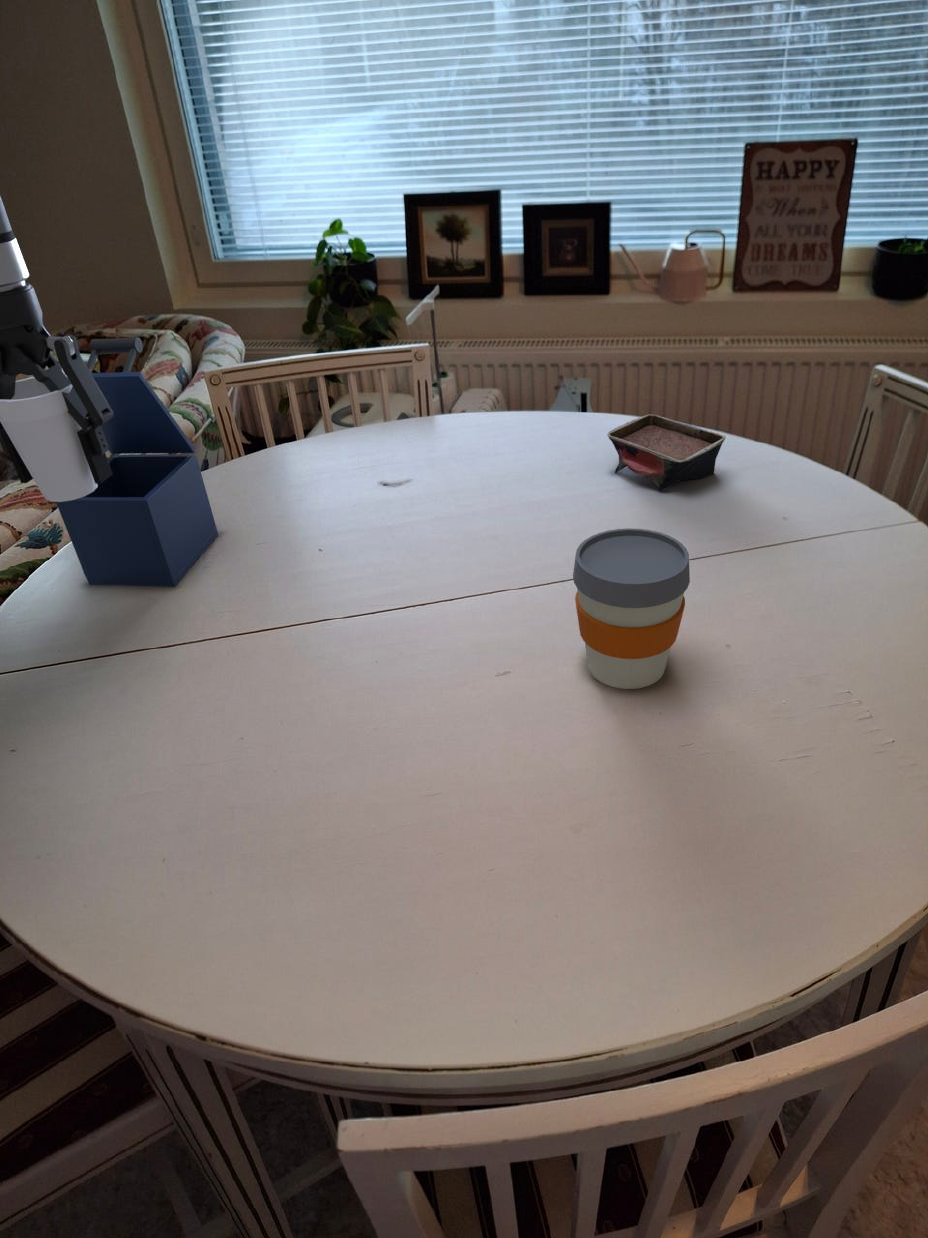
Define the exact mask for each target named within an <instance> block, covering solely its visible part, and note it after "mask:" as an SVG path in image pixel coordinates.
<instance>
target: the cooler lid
mask: <svg viewBox="0 0 928 1238" xmlns="http://www.w3.org/2000/svg"><path fill="white" fill-rule="evenodd" d="M89 348H90V355H89V357H88V360H87V362H86V366H87V368H88V369H89V371H90V373H91V375H92V376H93V378H94V380H95V382H96V383H97V385H98V387H99V389H100V390H101V392H102V394H103V396H104V397H105V399H106V401H107V403H108V404H109V406H110V408H111V409H112V411H113V414H114V416H113V417H112V418H111V419H109V420H108V421H106V422H105V423H104V424H102V430H103V433H104V436H105V439H106V442H107V444H108V452H109V453H110V454H111V455H140V454H196V451H197V449H196V447H195V446H194V445H193V443H192V442H191V440H190V439H189V438H188V436H187V434H186V433H185V432H184V430H183V429H182V428H181V426H180V425H179V424H178V422H177V421H176V419H175V418H174V417H173V415H172V414H171V412H170V411H169V410H168V408H167V407H166V406H165V404H164V403H163V401H162V400H161V398H160V397H159V396H158V394H157V393H156V391H155V390H154V389H153V387H152V386H151V385H150V383H149V382H148V380H147V379H146V378H145V376H144V375H143V373H142V372H141V371H132V368H133V365H134V363H135V360H136V357H137V354H140V353H142V352H143V349H144V345H143V341H142V339H141V338H140V337H123V338H119V337H117V338H95V339H91V340H90V341H89ZM110 354H111V355H112V354H113V355H114V354H128V356H127V359H126V361H125V363H124V366H123V370H122V371H121V372H93V370H94V367H95V364H96V362H97V359H98V357H99V355H110ZM64 374H65V373H64ZM65 375H66V374H65Z"/></svg>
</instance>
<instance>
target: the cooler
mask: <svg viewBox="0 0 928 1238" xmlns="http://www.w3.org/2000/svg"><path fill="white" fill-rule="evenodd" d="M107 459H108V462H109V465H110V468H111V471H112V475H111V476H110V477H109V478H107V479H106V480H105V481H104V482H102V483H101V484H97V485H98V487H97V488H96V489H95V490H94V491H93V492H92V493H90V494H88V495H86V496H84V497H81V498H78V499H75V500H70V501H63V502H55V504H56V507H57V509H58V511H59V514H60V516H61V519H62V521H63V524H64V527H65V529H66V531H67V534H68V535H69V536H68V537H69V539H70V541H71V543H72V547H73V549H74V551H75V554H76V556H77V559H78V561H79V563H80V566H81V569H82V572H83V574H84V576H85V579H86V581H87V584H88V586H128V587H129V586H131V587H132V586H136V587H176V586H177V584H178V583H179V582H180V581H181V580H182V579H183V577H184V576H185V575H186V574H187V573H188V571H189V570H190V569H191V568H192V567H193V565H194V564H195V563H196V562H197V561H198V559H199V558H200V557H201V556H202V555H203V554H204V552H205V551H206V550H207V549H208V547H210V545H211V544H212V543H213V541H214V540H215V539H216V538H217V537H218V535H219V532H218V529H217V523H216V521H215V518H214V514H213V511H212V507H211V503H210V500H209V496H208V493H207V489H206V485H205V482H204V478H203V475H202V471H201V466H200V463H199V460H198V457H197V453H143V454H111V455H110V457H107Z"/></svg>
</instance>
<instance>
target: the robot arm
mask: <svg viewBox="0 0 928 1238" xmlns="http://www.w3.org/2000/svg"><path fill="white" fill-rule="evenodd" d="M29 277H30V272H29V270H28V268H27V265H26V262H25V259H24V257H23V254H22V251H21V247H20V246H19V243H18V240H17V238H16V236H15V234H14V231H13V228H12V226H11V223H10V220H9V218H8V214H7V211H6V208H5V205H4V202H3V199H2V197H1V195H0V399H1V400H11V399H12V398H13V396H14V395H15V383H16V381H17V376H18V375H25V376H32V377H34V378H35V379H36V380H37V381H38V382H41V383H43V384H44V385H45V386H46V387H47V388H48V389H49V391H50V392H54V391H58V390H62V389H64V388H65V387H67V386H69V385H71V384H72V386H73V387H72V389H71V391H70V392H69V393H65V392H62V395H63V398H64V400H65V403H66V406H67V409H68V413H69V414H70V415H71V416H72V417H73V418H74V420H75V421H76V422H77V423H78V424H79V425H80V426H81V428H82V429H81V430H79V431H78V432H77V434H78V437H79V440H80V443H81V445H82V448H83V451H84V454H85V456H86V459H87V462H88V465H89V468H90V470H91V473H92V476H93V479H94V481H95V484H101V483H102V482H104V481H105V480H106V479H107V478H109V477H110V476H111V475H112V471H111V468H110V465H109V462H108V457H107V452H109V450H108V444H107V442H106V439H105V436H104V433H103V430H102V424H104V423H105V422H106V421H108V420H109V419H111V418H112V417H113V416H114V414H113V411H112V409H111V408H110V406H109V404H108V403H107V401H106V399H105V397H104V396H103V394H102V392H101V390H100V389H99V387H98V385H97V383H96V382H95V380H94V378H93V376H92V375H91V373H90V371H89V369H88V368H87V366H86V365H87V363H86V362H85V361H84V359H83V357H82V355H81V352H80V349H79V344H78V341H77V338H76V337H75V335H73V334H71V333H68V334H66V335H64V336H57V335H56V336H55V335H51V334H50V332H48V331H47V329H46V328H45V326H44V322H43V311H42V308H41V305H40V302H39V299H38V297H37V293H36V291H35V288H34V286H33V285H32V284H30V283H29V282H27V281H26V280H27V279H28V278H29ZM51 350H52V351H51ZM56 358H57V359H56ZM46 368H47V369H46ZM65 374H66V375H65ZM66 376H67V377H66ZM0 446H1V448H2V450H3V453H4V454H5V456H9V457H10V460H11V462H12V465H13V467H14V469H15V473H16V474H17V477H18V480H19V481H20V483H21V484H28V483H29V482H30V481H32V480H34V479H33V477H32V476H31V474H30V472H29V471H28V469H27V467H26V465H25V464H24V462H23V460H22V458H21V457H20V455H19V453H18V451H17V450H16V448H15V446H14V444H13V443H12V441H11V439H10V437H9V436H8V434H7V432H6V431H5V429H4V427H3V425H2V424H1V422H0Z"/></svg>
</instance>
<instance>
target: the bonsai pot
mask: <svg viewBox="0 0 928 1238" xmlns="http://www.w3.org/2000/svg"><path fill="white" fill-rule="evenodd" d="M606 435H607V438H608V440H610V441H611V442H612V445H613V447H614V448H615V451H616V453H617V455H618V464H617V465H616V468H615V470H614V474H617V473H619V472H620V471H622V470H624V469H625V468H628V469H630V470H631V471H633V472H634V473H635V474H637V475H640V476H642V477H644V478H646V479H647V480H649V481H651V482H652V483H653V484H654V485H655V486H656V487H657V488H659V489H660V490H661V491H664V490H666V489H667V488H669V487H671V486H672V485H673V484H675V483H677V482H678V481H681V482H682V481H691V480H698V479H699V480H700V479H705V478H707V477H710V476H712V475H715V468H716V461H717V457H718V454H719V453H720V451H721V448H722V445H723V443H724V442H725V440H726V438H727V437H726V436H725V435H724V434H720V433H718V432H714V431H710V430H707V429H703V428H701V427H697V426H694V425H691V424H689V423H685V422H682V421H677V420H674V419H672V418H667V417H663V416H660V415H659V414H653V413H652V414H650V413H648V414H646V415H642V416H639V417H637V418H634V419H632V420H629V421H627V422H625V423H623V424H620V425H619V426H616V427H615V428H613V429H611V430H610V431H608V432H607V434H606Z"/></svg>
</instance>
